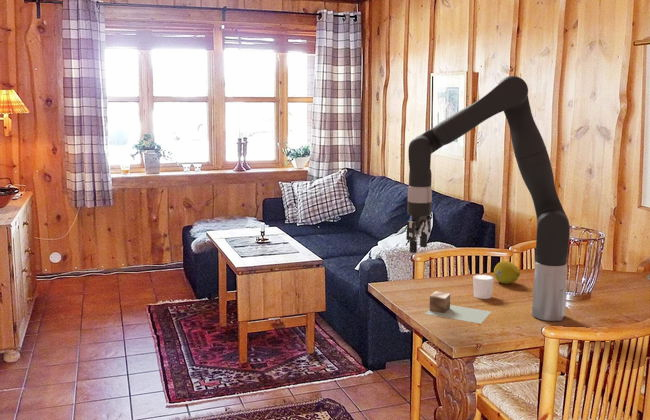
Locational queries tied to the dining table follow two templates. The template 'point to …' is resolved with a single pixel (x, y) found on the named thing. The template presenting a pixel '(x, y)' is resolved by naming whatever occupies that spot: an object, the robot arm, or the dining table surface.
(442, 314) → the rubber mat
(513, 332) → the dining table surface
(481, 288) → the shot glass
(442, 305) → the copper block
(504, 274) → the lemon
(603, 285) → the dining table surface
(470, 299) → the dining table surface
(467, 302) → the dining table surface
